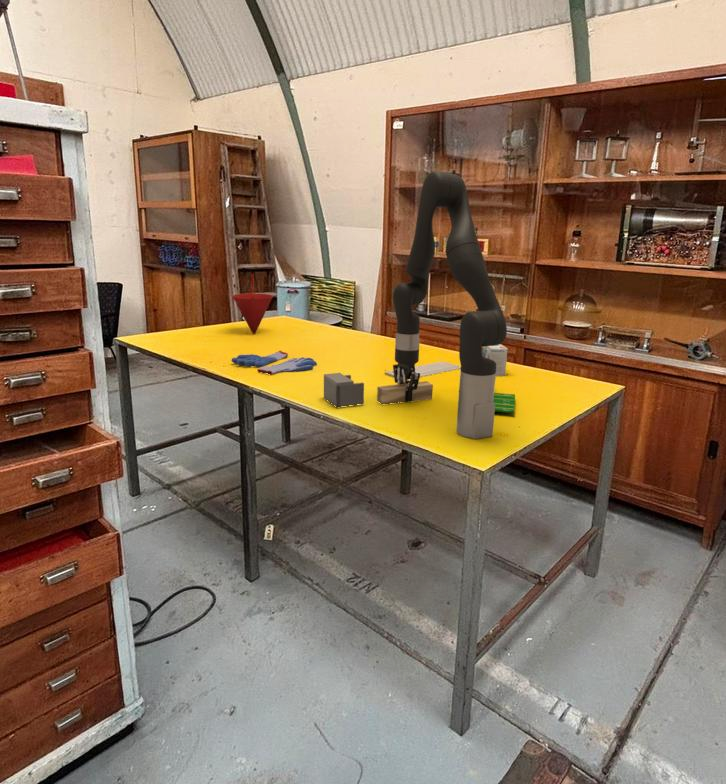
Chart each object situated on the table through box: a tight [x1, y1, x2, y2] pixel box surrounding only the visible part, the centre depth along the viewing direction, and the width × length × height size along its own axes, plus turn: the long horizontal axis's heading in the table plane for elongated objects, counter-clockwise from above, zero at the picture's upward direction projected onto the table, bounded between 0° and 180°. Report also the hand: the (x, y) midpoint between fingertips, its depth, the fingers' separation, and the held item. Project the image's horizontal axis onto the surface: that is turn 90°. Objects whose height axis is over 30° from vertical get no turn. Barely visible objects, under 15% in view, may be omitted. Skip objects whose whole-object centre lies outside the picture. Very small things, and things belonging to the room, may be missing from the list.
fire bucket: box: [231, 273, 274, 335], centre depth 280 cm, size 22×20×30 cm
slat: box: [376, 380, 434, 405], centre depth 184 cm, size 4×18×5 cm, turn 115°
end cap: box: [323, 372, 365, 408], centre depth 180 cm, size 11×9×8 cm
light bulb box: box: [482, 343, 508, 377], centre depth 219 cm, size 11×7×11 cm, turn 5°
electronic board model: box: [493, 392, 516, 414], centre depth 185 cm, size 30×7×15 cm
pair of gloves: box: [231, 350, 318, 376], centre depth 226 cm, size 32×26×4 cm
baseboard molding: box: [384, 360, 461, 381], centre depth 220 cm, size 31×3×12 cm
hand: (404, 399), depth 184 cm, fingers closed on slat, 4 cm apart
